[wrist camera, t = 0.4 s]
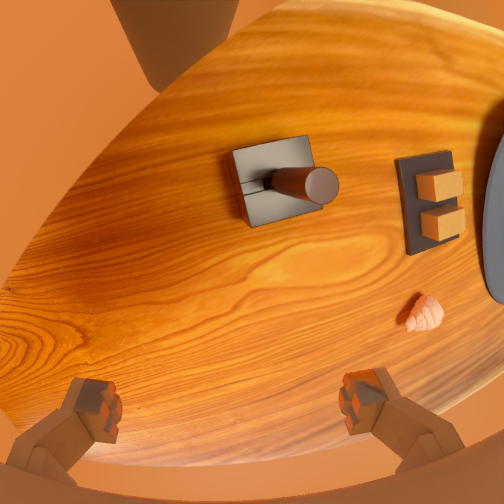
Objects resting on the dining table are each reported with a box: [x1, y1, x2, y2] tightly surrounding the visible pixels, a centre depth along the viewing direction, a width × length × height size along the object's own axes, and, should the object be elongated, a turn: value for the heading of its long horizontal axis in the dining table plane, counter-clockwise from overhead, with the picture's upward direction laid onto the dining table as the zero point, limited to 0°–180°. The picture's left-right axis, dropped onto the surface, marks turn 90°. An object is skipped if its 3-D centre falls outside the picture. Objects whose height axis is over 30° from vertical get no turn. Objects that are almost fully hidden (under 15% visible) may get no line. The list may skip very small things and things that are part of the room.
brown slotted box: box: [226, 135, 323, 228], centre depth 35 cm, size 8×8×6 cm
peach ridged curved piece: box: [405, 295, 444, 332], centre depth 44 cm, size 6×6×5 cm
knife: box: [262, 167, 339, 205], centre depth 30 cm, size 3×3×17 cm
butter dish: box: [395, 151, 466, 256], centre depth 40 cm, size 14×11×5 cm
